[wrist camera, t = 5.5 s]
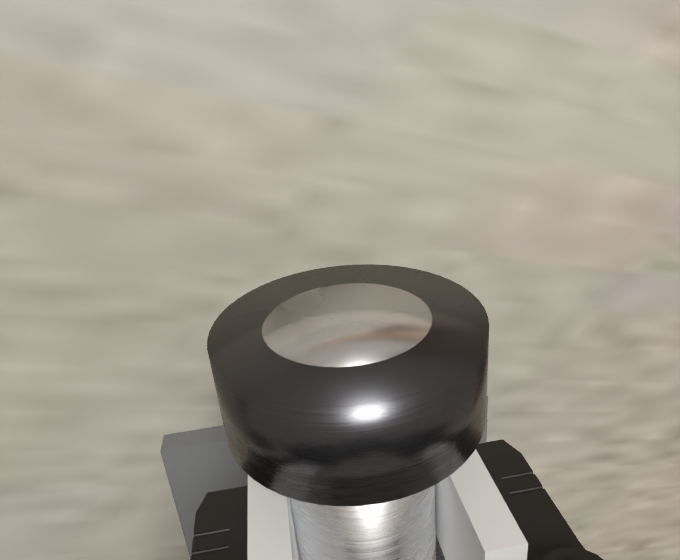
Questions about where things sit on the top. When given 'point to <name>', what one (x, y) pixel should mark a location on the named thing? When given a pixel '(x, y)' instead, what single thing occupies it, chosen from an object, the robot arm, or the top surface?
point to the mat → (204, 470)
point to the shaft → (354, 401)
